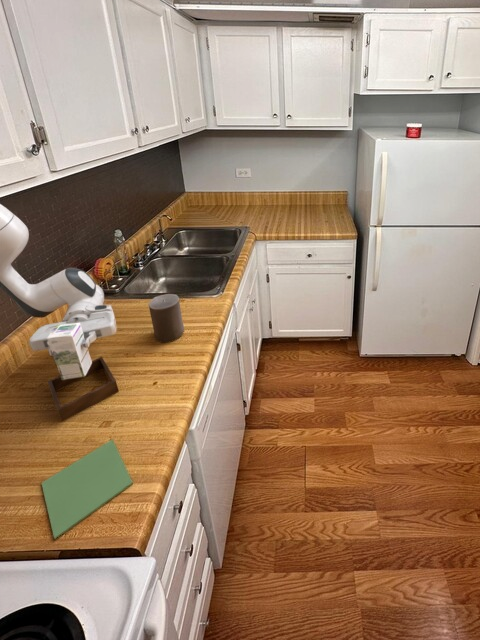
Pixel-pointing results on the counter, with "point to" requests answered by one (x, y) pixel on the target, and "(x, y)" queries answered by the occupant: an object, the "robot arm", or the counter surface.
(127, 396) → the counter surface
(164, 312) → the pillar candle
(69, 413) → the frame
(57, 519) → the green mat
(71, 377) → the syrup box
